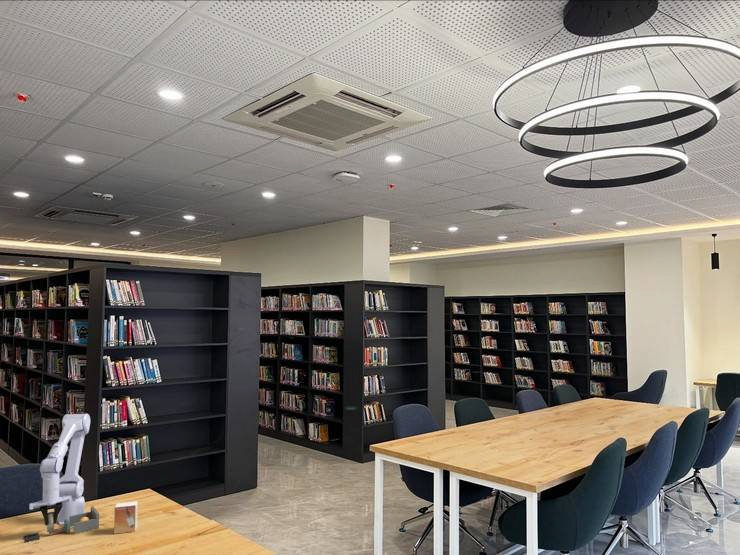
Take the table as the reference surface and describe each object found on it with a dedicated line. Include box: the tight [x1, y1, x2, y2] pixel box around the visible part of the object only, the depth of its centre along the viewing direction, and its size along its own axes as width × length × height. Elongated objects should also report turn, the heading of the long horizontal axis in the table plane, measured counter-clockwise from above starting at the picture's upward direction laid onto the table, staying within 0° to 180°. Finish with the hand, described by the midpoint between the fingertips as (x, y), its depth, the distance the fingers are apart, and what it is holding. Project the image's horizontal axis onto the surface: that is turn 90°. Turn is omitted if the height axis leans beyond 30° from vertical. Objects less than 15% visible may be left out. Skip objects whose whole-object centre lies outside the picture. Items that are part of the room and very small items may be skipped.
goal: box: [69, 505, 100, 535], centre depth 225 cm, size 9×11×6 cm
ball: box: [79, 517, 90, 522], centre depth 225 cm, size 4×4×4 cm
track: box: [22, 532, 41, 544], centre depth 214 cm, size 5×4×1 cm
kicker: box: [46, 511, 71, 536], centre depth 220 cm, size 8×6×8 cm
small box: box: [113, 500, 139, 535], centre depth 221 cm, size 8×6×10 cm
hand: (50, 523), depth 218 cm, fingers closed on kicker, 2 cm apart
